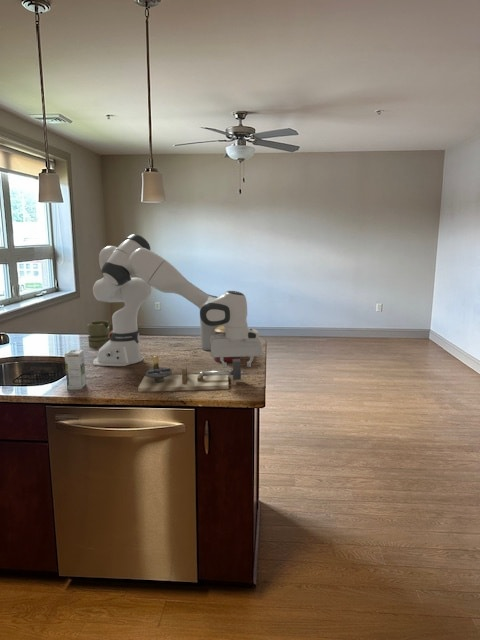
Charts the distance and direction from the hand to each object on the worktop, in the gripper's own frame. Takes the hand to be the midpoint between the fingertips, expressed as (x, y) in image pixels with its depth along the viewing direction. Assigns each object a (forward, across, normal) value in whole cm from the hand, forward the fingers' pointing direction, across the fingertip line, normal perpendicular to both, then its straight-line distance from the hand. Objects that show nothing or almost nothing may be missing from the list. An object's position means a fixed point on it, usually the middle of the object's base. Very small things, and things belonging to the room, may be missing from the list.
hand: (236, 367), depth 168 cm
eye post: (+5, -20, 0) cm, 21 cm away
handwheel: (+2, -30, 0) cm, 31 cm away
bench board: (+6, -20, 0) cm, 21 cm away
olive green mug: (+7, -72, +68) cm, 100 cm away
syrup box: (+6, -62, 0) cm, 63 cm away
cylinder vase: (+6, -10, +54) cm, 55 cm away
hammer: (+4, -6, 0) cm, 8 cm away
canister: (+6, -4, +33) cm, 34 cm away
